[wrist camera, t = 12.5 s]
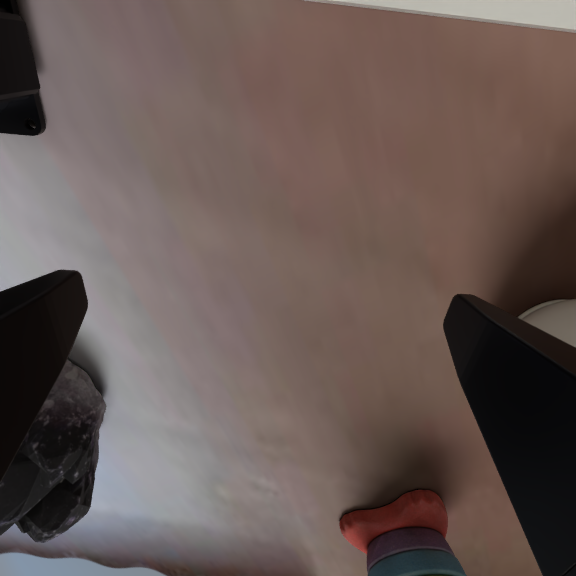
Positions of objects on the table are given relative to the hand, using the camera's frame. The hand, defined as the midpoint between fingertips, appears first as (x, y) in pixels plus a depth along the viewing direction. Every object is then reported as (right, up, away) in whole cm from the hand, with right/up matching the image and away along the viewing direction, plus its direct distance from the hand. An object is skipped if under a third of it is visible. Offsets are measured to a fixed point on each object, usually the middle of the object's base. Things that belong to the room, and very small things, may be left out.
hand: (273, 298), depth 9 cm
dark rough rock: (-19, -8, +19) cm, 28 cm away
